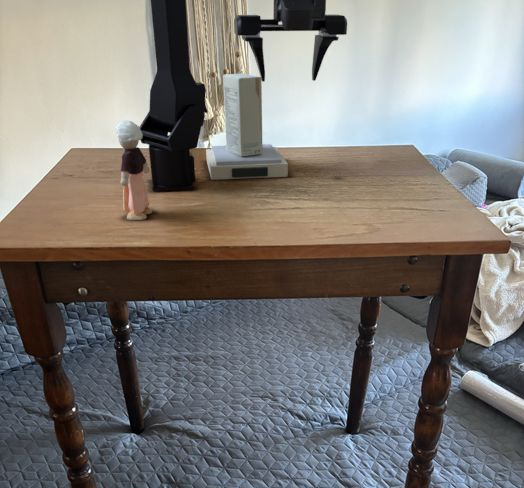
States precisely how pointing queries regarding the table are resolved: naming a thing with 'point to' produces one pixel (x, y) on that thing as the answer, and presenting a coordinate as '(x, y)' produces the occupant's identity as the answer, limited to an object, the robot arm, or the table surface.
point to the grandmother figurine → (133, 171)
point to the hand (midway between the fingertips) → (288, 80)
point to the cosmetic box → (243, 114)
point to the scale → (246, 164)
